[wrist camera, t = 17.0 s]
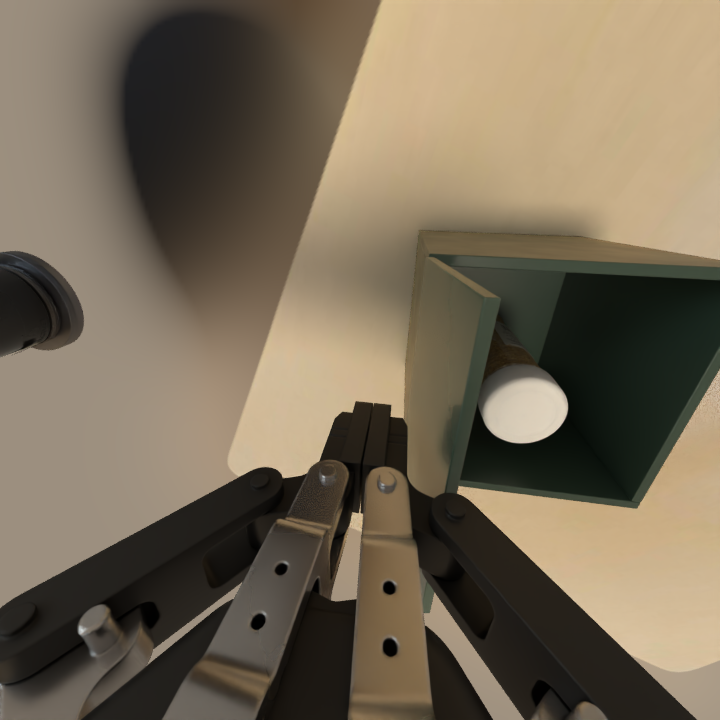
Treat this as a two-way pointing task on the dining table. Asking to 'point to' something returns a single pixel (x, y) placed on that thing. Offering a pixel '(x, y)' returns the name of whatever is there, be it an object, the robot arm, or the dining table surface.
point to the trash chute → (589, 356)
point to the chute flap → (446, 380)
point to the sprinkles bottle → (518, 392)
